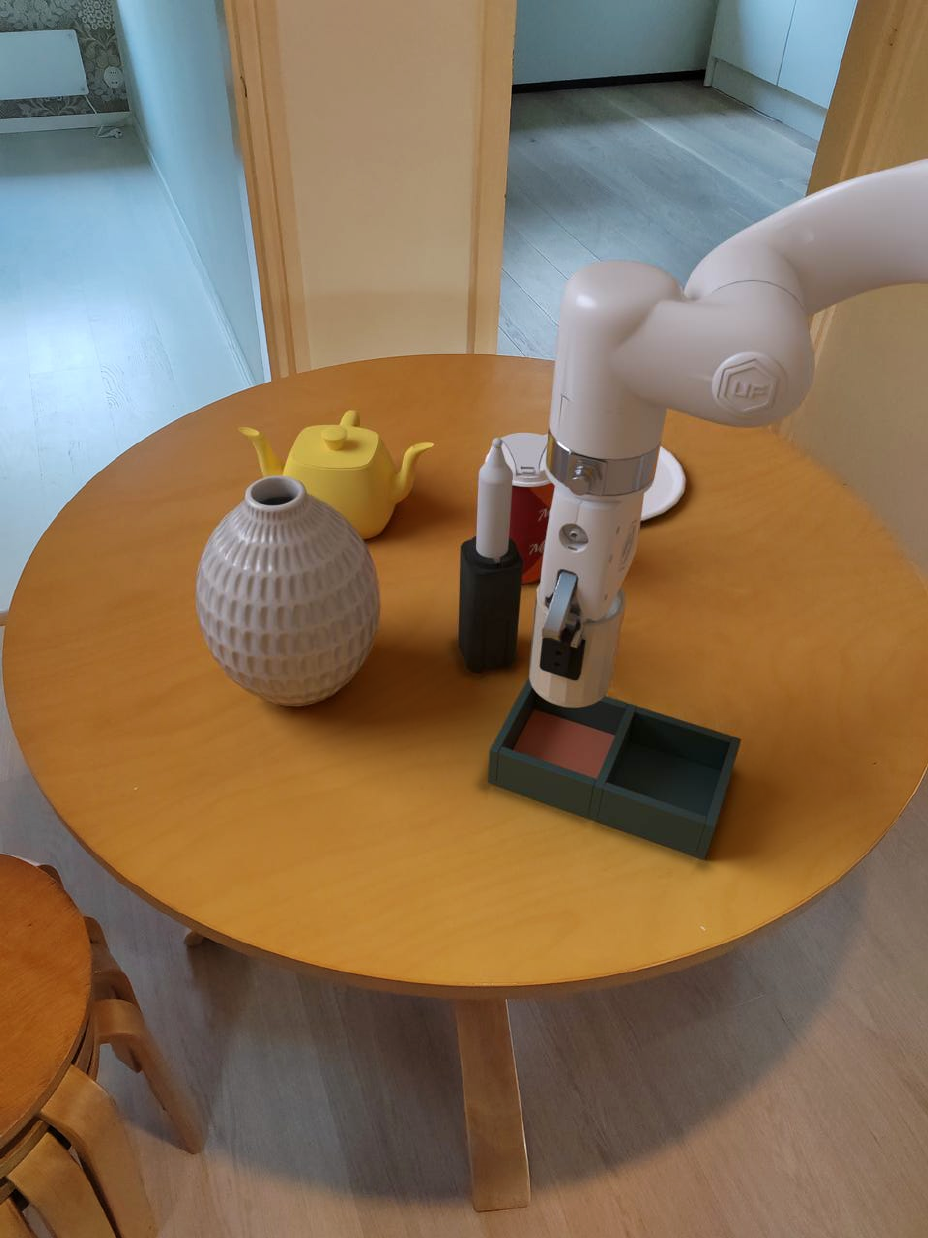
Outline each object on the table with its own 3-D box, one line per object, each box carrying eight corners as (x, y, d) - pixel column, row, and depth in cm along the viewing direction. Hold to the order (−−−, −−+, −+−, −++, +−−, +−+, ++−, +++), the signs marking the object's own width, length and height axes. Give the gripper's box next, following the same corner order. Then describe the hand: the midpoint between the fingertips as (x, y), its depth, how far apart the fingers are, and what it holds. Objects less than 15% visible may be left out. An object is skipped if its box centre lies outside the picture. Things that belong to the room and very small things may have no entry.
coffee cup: (557, 592, 106) (570, 475, 96) (480, 590, 106) (485, 473, 96) (553, 543, 112) (565, 429, 102) (481, 541, 112) (485, 427, 102)
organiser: (730, 772, 88) (741, 738, 85) (704, 860, 81) (715, 827, 78) (528, 705, 94) (531, 671, 91) (487, 783, 87) (489, 749, 84)
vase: (294, 773, 87) (264, 582, 72) (180, 684, 95) (132, 494, 80) (418, 675, 96) (415, 487, 81) (305, 601, 104) (283, 416, 89)
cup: (621, 663, 83) (636, 581, 77) (596, 718, 78) (610, 636, 72) (545, 639, 85) (554, 558, 79) (516, 692, 80) (523, 610, 74)
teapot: (444, 475, 121) (444, 397, 114) (425, 553, 110) (424, 472, 103) (270, 460, 123) (259, 382, 116) (233, 536, 112) (219, 455, 104)
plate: (679, 439, 129) (681, 431, 128) (689, 537, 113) (691, 528, 112) (520, 427, 130) (521, 419, 129) (509, 522, 115) (509, 514, 114)
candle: (469, 675, 96) (476, 459, 79) (455, 639, 100) (460, 426, 83) (518, 665, 97) (536, 450, 81) (503, 631, 101) (517, 418, 84)
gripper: (617, 539, 60) (586, 732, 72) (687, 405, 72) (650, 590, 84) (502, 507, 62) (490, 700, 74) (589, 382, 74) (566, 566, 86)
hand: (575, 640), depth 79 cm, fingers closed on cup, 6 cm apart
